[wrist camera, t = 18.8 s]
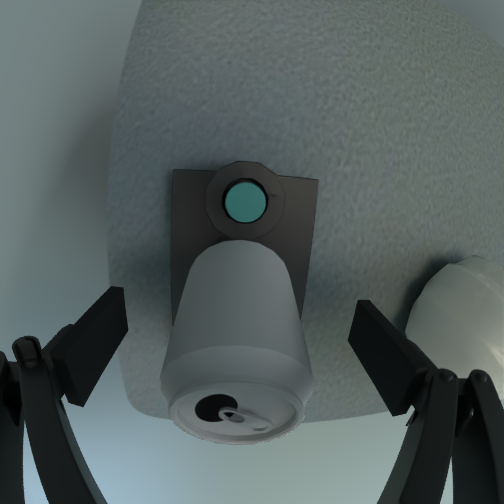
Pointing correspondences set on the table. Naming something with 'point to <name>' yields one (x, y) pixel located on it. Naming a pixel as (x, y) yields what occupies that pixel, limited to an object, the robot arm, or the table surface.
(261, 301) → the can
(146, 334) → the table surface
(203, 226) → the scale
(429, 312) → the vase
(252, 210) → the button
